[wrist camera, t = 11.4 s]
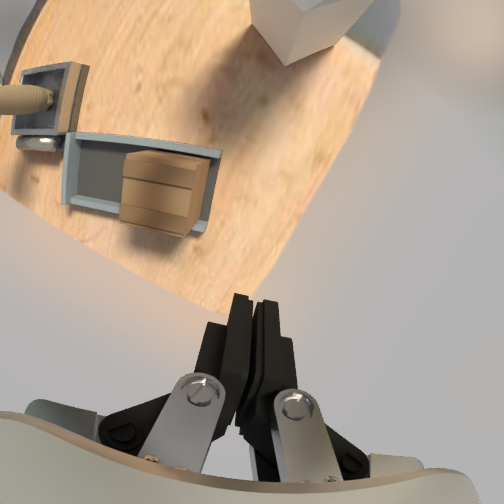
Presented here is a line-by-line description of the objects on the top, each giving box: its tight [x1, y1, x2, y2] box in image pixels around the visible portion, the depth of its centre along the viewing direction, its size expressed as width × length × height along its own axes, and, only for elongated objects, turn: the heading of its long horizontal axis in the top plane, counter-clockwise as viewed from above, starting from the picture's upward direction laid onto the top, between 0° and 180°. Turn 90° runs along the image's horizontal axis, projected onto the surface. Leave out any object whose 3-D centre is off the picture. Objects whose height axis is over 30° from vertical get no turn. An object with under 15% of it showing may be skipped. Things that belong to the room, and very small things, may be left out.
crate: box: [119, 149, 211, 238], centre depth 27 cm, size 7×7×7 cm
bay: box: [61, 132, 223, 233], centre depth 29 cm, size 20×9×3 cm, turn 77°
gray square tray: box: [11, 61, 90, 152], centre depth 25 cm, size 11×12×4 cm
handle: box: [0, 85, 54, 115], centre depth 18 cm, size 5×6×15 cm
